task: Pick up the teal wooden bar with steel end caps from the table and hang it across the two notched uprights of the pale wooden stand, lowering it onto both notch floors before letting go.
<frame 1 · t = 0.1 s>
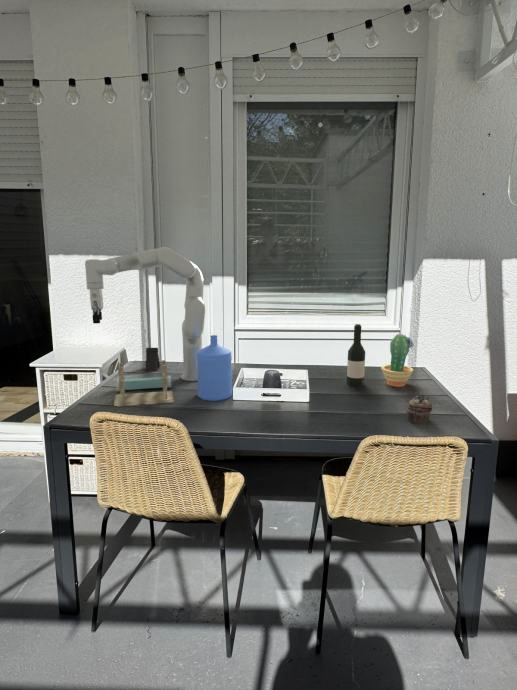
hand: (97, 321, 235), 31 cm above the table, tool pointing down, fingers open, 9 cm apart
phone stand: (153, 369, 268), on the table
hanger bar: (144, 389, 233), on the table
wine bottle: (355, 384, 242), on the table
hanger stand: (144, 400, 218), on the table
water jug: (215, 396, 224), on the table
cupcake: (417, 420, 195), on the table
potted cactus: (396, 384, 242), on the table
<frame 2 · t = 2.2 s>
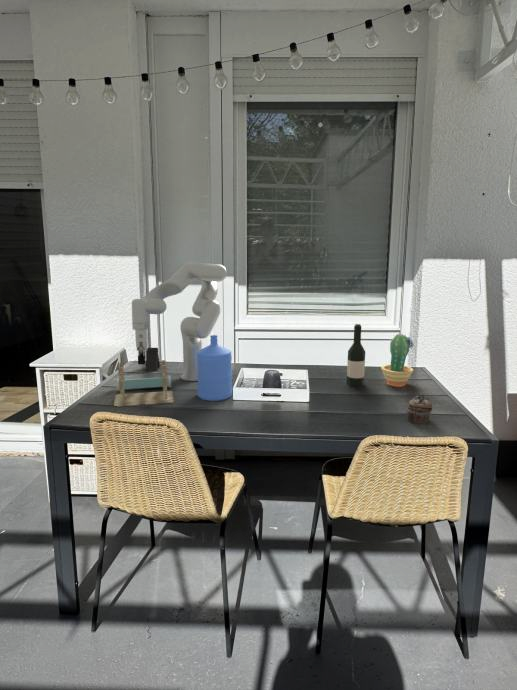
hand: (141, 361, 230), 14 cm above the table, tool pointing down, fingers open, 9 cm apart
hanger bar: (144, 389, 233), on the table, tilted 10°
everything else where it was.
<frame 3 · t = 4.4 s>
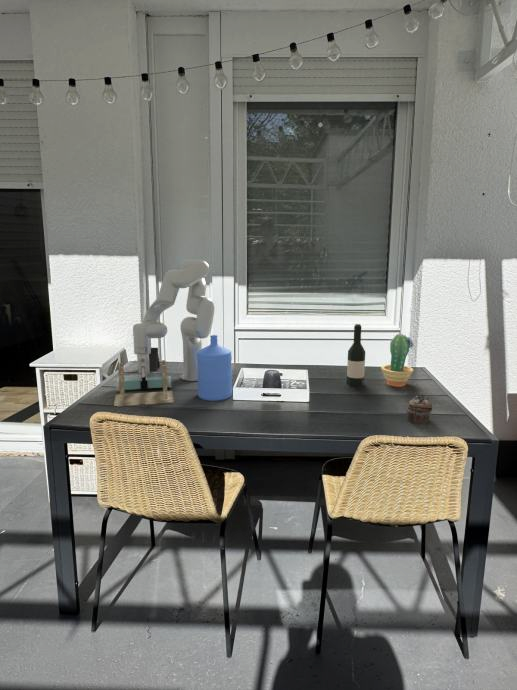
hand: (144, 387, 233), 1 cm above the table, tool pointing down, fingers closed on hanger bar, 4 cm apart
hanger bar: (144, 389, 233), on the table, touching gripper
everything else where it was.
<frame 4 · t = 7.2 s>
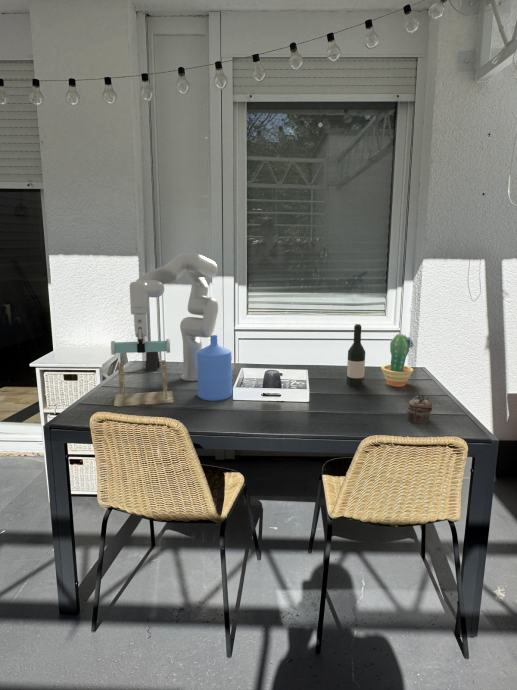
hand: (141, 351, 216), 22 cm above the table, tool pointing down, fingers closed on hanger bar, 4 cm apart
hanger bar: (141, 353, 216), point 21 cm above the table, touching gripper
everything else where it was.
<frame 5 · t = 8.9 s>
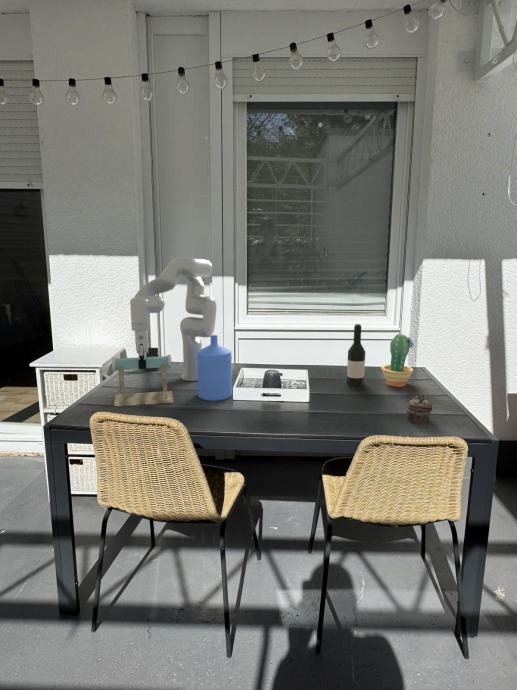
hand: (142, 367, 214), 15 cm above the table, tool pointing down, fingers closed on hanger bar, 4 cm apart
hanger bar: (142, 369, 215), point 14 cm above the table, touching gripper
everything else where it was.
when the fingers open (12 cm above the table, at t = 10.4 s): hanger bar stays where it is, resting on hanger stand.
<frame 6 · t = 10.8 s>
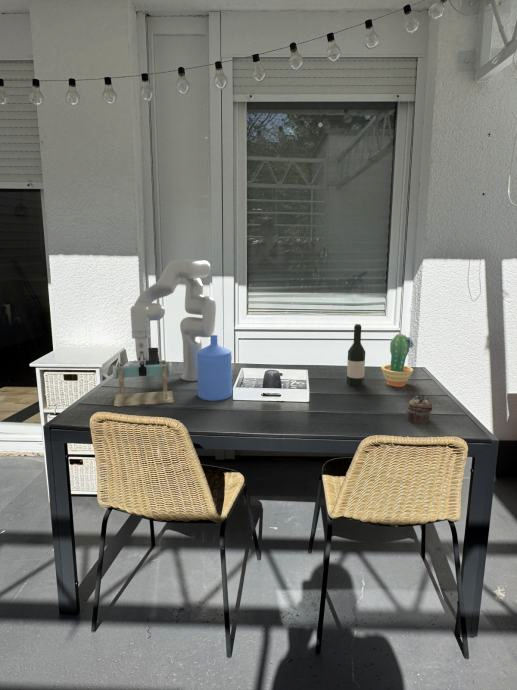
hand: (142, 373, 215), 13 cm above the table, tool pointing down, fingers open, 7 cm apart
hanger bar: (143, 377, 216), point 10 cm above the table, touching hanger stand
everything else where it was.
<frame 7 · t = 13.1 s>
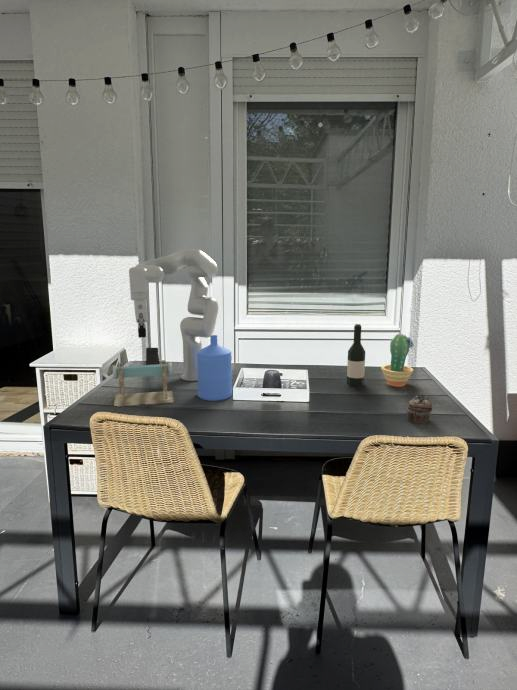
hand: (142, 334, 214), 29 cm above the table, tool pointing down, fingers open, 9 cm apart
nothing on the table moved.
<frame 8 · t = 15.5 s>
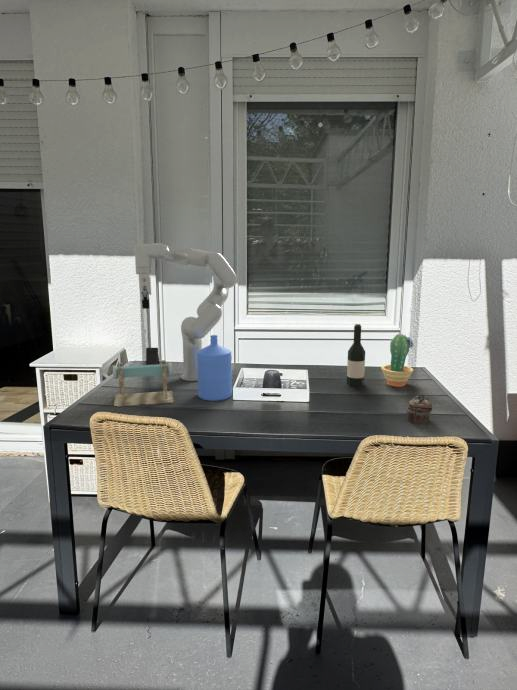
hand: (145, 307, 233), 38 cm above the table, tool pointing down, fingers open, 9 cm apart
nothing on the table moved.
at the end: hanger bar 0.1 cm off-centre on the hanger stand, point 10.5 cm above the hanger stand's base; hanger bar tilted 0°; the gripper is holding nothing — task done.
